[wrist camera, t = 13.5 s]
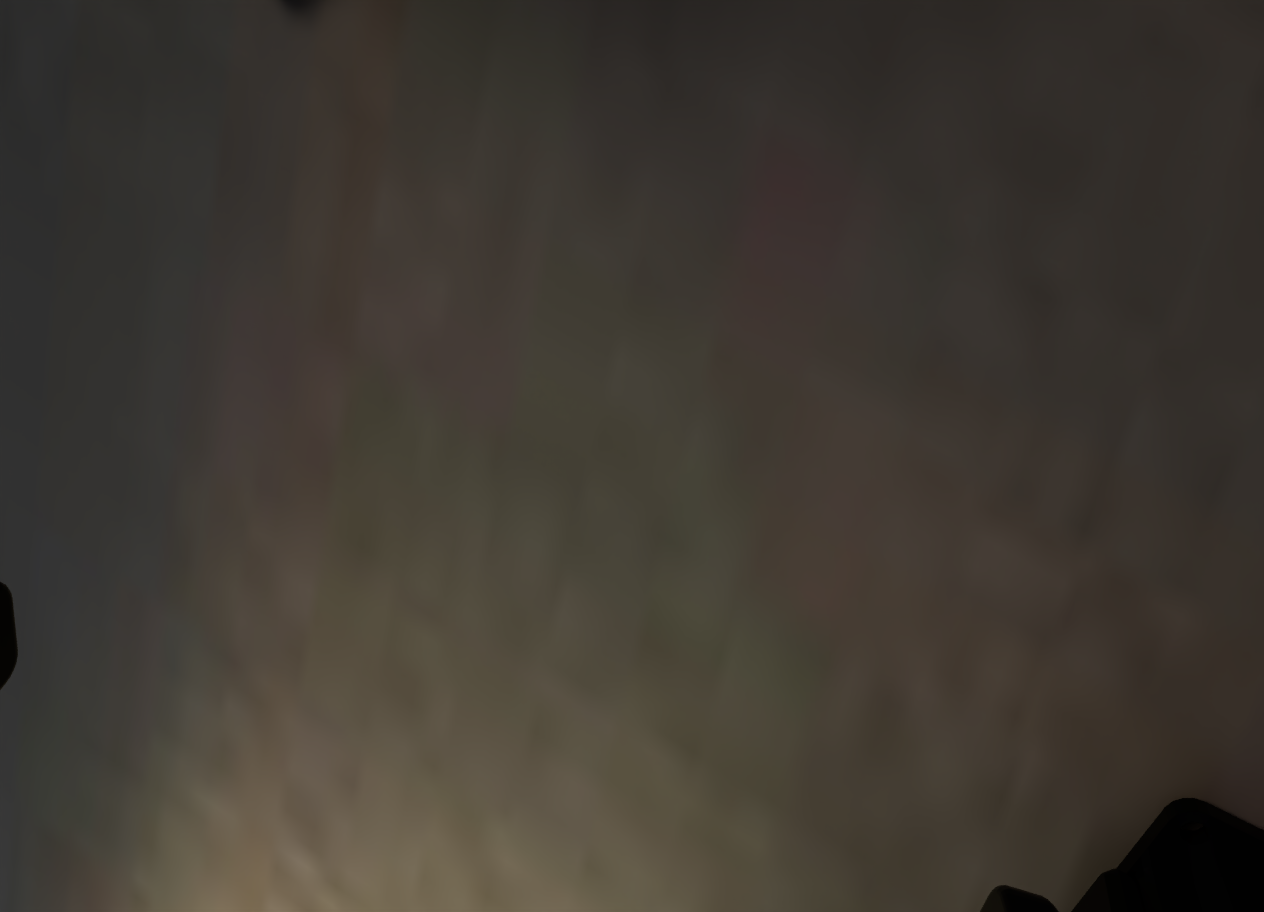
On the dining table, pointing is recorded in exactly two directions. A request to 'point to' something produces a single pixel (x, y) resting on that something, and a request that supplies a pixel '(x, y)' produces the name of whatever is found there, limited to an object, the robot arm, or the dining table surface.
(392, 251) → the dining table surface
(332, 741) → the dining table surface
